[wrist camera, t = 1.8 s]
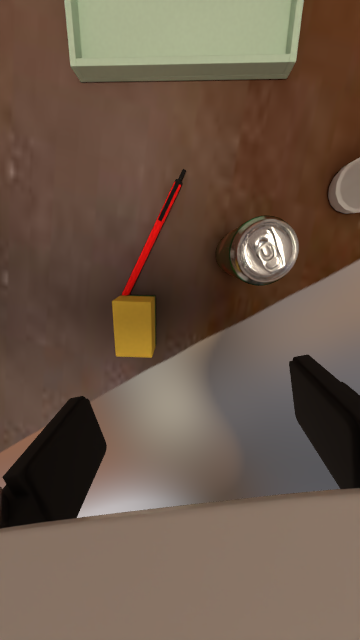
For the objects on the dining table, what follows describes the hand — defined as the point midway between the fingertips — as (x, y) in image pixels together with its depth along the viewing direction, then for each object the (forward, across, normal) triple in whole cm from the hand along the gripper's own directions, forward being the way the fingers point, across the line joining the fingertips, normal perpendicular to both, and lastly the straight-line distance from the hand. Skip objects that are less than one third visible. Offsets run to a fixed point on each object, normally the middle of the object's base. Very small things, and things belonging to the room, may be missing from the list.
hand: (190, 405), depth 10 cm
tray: (+20, -6, -28) cm, 35 cm away
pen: (+20, +4, -8) cm, 22 cm away
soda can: (+20, -7, -5) cm, 22 cm away
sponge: (+20, +7, 0) cm, 21 cm away
